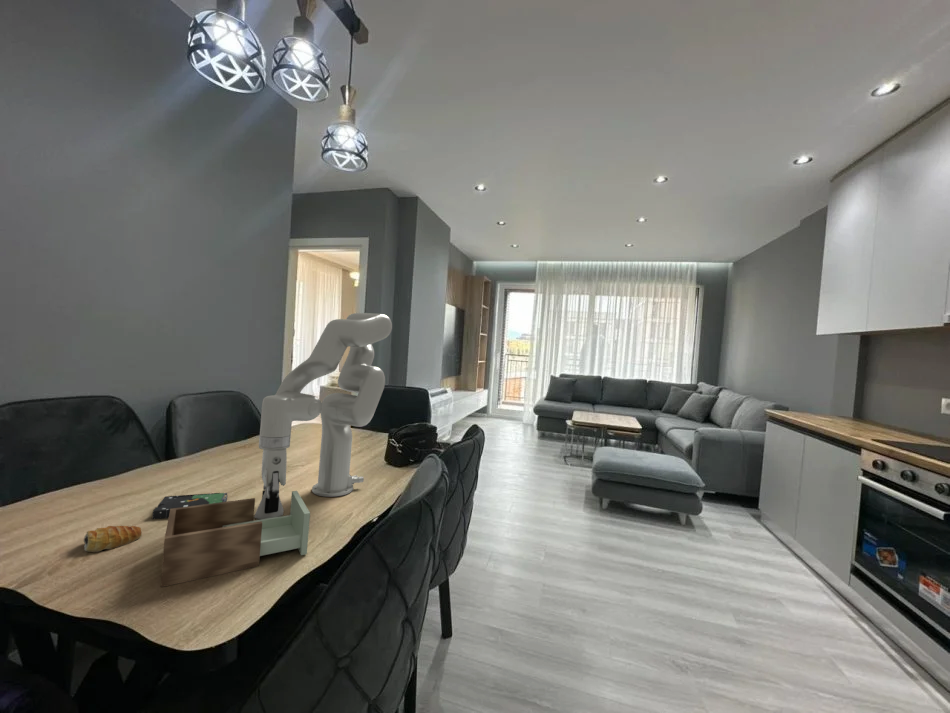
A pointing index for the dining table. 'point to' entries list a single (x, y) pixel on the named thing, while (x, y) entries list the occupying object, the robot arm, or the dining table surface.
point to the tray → (285, 529)
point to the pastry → (110, 537)
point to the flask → (260, 510)
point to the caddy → (210, 541)
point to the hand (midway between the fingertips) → (269, 507)
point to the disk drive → (186, 502)
